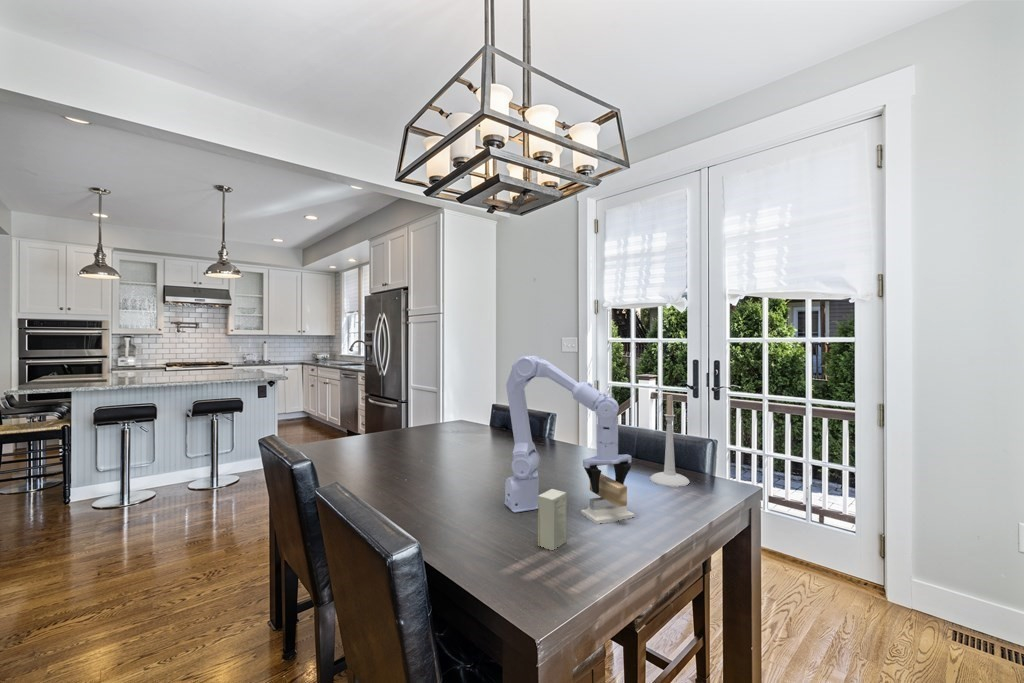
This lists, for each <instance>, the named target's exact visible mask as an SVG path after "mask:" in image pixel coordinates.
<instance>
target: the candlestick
mask: <svg viewBox="0 0 1024 683" xmlns="http://www.w3.org/2000/svg"><path fill="white" fill-rule="evenodd" d="M673 399H674V398H673V395H672V394H668V395H666V413H665V414H663V416H665V420H666V423H667V424H666V431H665V434H666V435H665V453H664V467H663V468H664V469H663V471H660V472H655V473H653V474H652V475H651V476H650V477H649V481H650V480H651V481H652V483H653V482H654V483H653V484H655V483H656V484H655V485H657V484H660V485H659V486H661V485H664V486H663V487H666V486H670V487H669V488H680V487H679V486H685V487H687V486H686V485H688V484H689V483H690V479H689V478H687V477H686V476H685V475H682V474H680V473H677V472H676V462H675V445H674V428H673V426H674V425H673V421H675V419H674V417H676V415H675V414H673V413H674V411H673V410H674V405H673V404H674V403H673V401H674V400H673ZM651 481H650V482H651ZM689 485H690V484H689ZM689 485H688V486H689Z"/></svg>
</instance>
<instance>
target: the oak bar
mask: <svg viewBox="0 0 1024 683" xmlns="http://www.w3.org/2000/svg"><path fill="white" fill-rule="evenodd" d="M589 491H590V492H592V493H594V492H593V491H592V486H591V482H590V481H589ZM594 494H595V495H597V496H598V497H602V498H603V499H605V500H607V501H609V502H610V503H612V504H614V505H615V506H617V507H622V506H627V507H628V486H626V485H624V484H621V483H619V482H617V481H615V479H613V478H611V477H608V476H606V475H604V474H603V473H601V474H600V479H599V493H598V494H596V493H594Z"/></svg>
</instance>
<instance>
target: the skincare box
mask: <svg viewBox="0 0 1024 683" xmlns="http://www.w3.org/2000/svg"><path fill="white" fill-rule="evenodd" d="M565 543H567V491H562V490H558V489H555V488H551V489H548V490H546V491H544V492H542V493H540V494H539V495H538V509H537V546H538V547H540V546H541V548H543V547H544V548H543V549H546V550H548V549H549V551H551V550H553V551H555V550H556V549H558V548H559V547H561V546H563V545H564V544H565ZM557 547H558V548H557ZM554 549H555V550H554Z"/></svg>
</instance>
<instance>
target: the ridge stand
mask: <svg viewBox="0 0 1024 683" xmlns="http://www.w3.org/2000/svg"><path fill="white" fill-rule="evenodd" d="M581 513H582V514H583V515H582V514H581ZM580 514H581V515H582V516H584V517H585V516H586V517H585V518H587V519H588V518H589V519H590V520H589V519H588V520H589V521H591V520H592V521H593V523H594V524H595V525H600V523H602V524H606V523H607V522H608V523H614V522H619V521H623V520H622V519H625V520H628V519H627V518H631V519H633V518H632V517H634V518H635V513H633V512H631V511H629V510H628V505H627V506H622V507H617V506H615V505H614V504H612V503H610V502H609V501H607V500H605V499H603V498H602V497H600V496H598V497H593V498H589V506H587V508H586V509H581V510H580ZM618 520H619V521H618ZM592 521H591V522H592ZM613 521H614V522H613ZM608 523H607V524H608Z"/></svg>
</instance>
